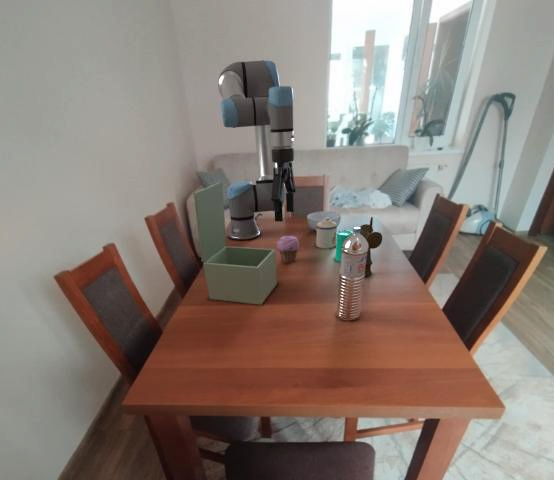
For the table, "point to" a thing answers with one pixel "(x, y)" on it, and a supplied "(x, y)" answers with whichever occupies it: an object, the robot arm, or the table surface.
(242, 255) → the chest
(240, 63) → the robot arm
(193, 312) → the table surface
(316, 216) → the cereal bowl
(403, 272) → the table surface
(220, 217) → the green box lid
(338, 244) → the candle
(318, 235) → the teacup with lid
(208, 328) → the table surface
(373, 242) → the kendama
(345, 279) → the water bottle
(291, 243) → the cupcake
